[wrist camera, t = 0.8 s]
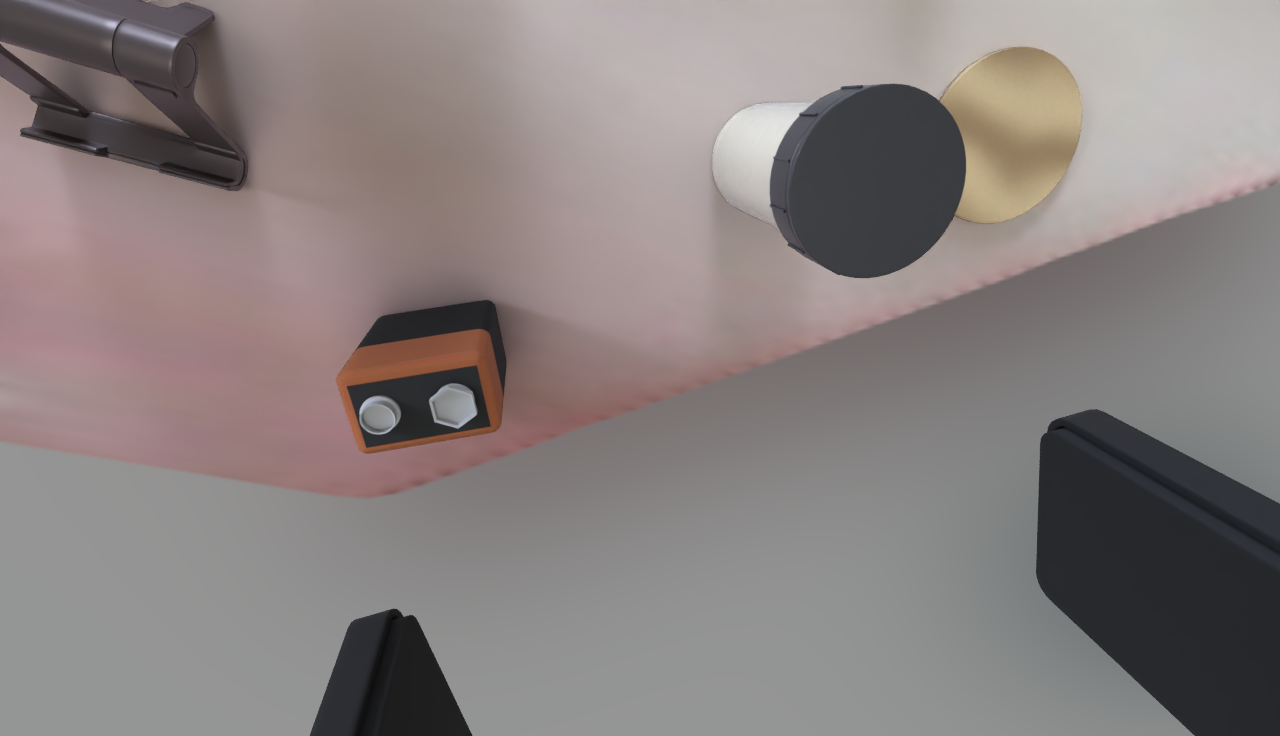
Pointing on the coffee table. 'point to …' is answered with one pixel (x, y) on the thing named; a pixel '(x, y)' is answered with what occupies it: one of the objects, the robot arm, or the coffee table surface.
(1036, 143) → the coaster
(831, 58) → the coffee table surface
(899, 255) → the lid
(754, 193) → the jar
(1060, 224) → the coffee table surface
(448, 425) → the battery
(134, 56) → the tablet stand
